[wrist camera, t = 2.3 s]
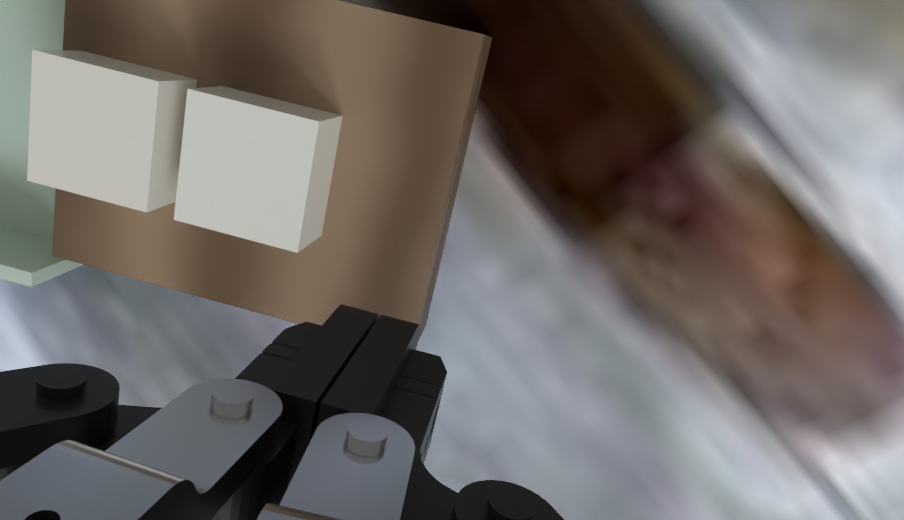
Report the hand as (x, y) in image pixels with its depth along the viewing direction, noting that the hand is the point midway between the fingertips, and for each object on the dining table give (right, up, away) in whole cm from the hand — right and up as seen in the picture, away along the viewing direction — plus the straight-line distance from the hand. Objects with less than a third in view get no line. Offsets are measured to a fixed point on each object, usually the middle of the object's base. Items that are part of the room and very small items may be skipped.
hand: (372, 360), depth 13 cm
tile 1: (-5, +5, +13) cm, 15 cm away
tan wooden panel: (-6, +6, +16) cm, 18 cm away
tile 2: (-10, +7, +13) cm, 18 cm away
